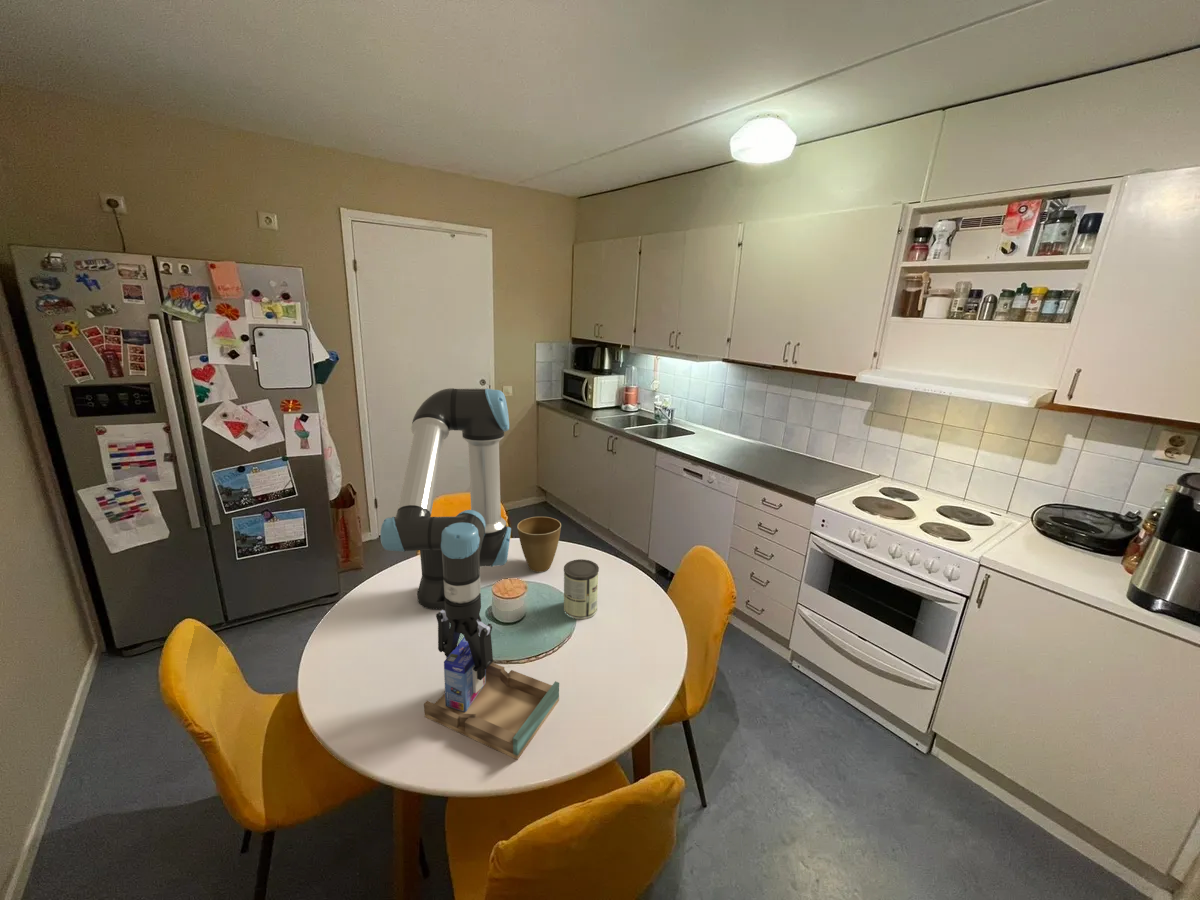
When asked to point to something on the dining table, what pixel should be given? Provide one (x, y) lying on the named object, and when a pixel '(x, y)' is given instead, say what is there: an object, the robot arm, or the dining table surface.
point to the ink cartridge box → (460, 678)
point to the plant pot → (539, 541)
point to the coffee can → (580, 588)
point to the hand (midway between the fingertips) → (466, 683)
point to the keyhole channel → (501, 711)
